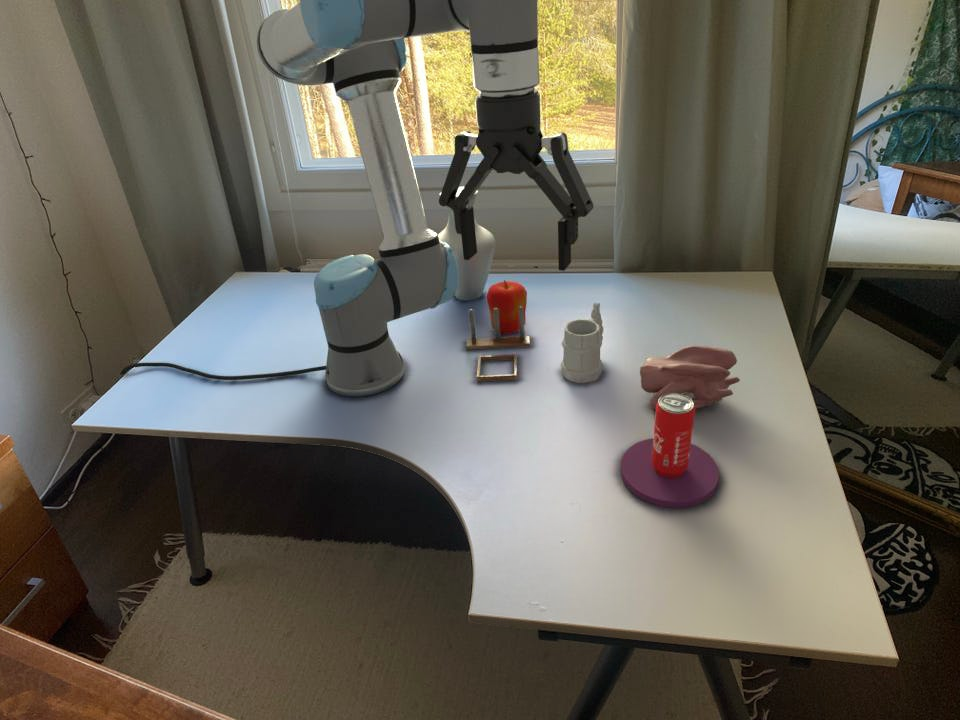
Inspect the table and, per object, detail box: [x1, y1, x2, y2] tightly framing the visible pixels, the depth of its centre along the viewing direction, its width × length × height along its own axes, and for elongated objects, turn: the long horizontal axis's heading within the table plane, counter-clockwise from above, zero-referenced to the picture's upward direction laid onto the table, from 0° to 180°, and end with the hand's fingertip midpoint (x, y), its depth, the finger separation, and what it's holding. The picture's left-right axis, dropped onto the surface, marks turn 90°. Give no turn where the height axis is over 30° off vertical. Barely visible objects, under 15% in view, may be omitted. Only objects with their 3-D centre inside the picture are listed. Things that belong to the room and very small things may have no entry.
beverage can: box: [652, 393, 696, 478], centre depth 90 cm, size 5×5×12 cm
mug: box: [560, 302, 604, 384], centre depth 116 cm, size 8×12×12 cm, turn 146°
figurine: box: [639, 345, 741, 410], centre depth 106 cm, size 12×10×15 cm
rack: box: [466, 307, 531, 382], centre depth 122 cm, size 15×13×8 cm
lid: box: [619, 437, 720, 509], centre depth 93 cm, size 14×14×1 cm
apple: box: [485, 279, 528, 335], centre depth 131 cm, size 9×8×12 cm
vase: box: [438, 186, 496, 302], centre depth 144 cm, size 14×14×25 cm
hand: (516, 261), depth 83 cm, fingers open, 13 cm apart
